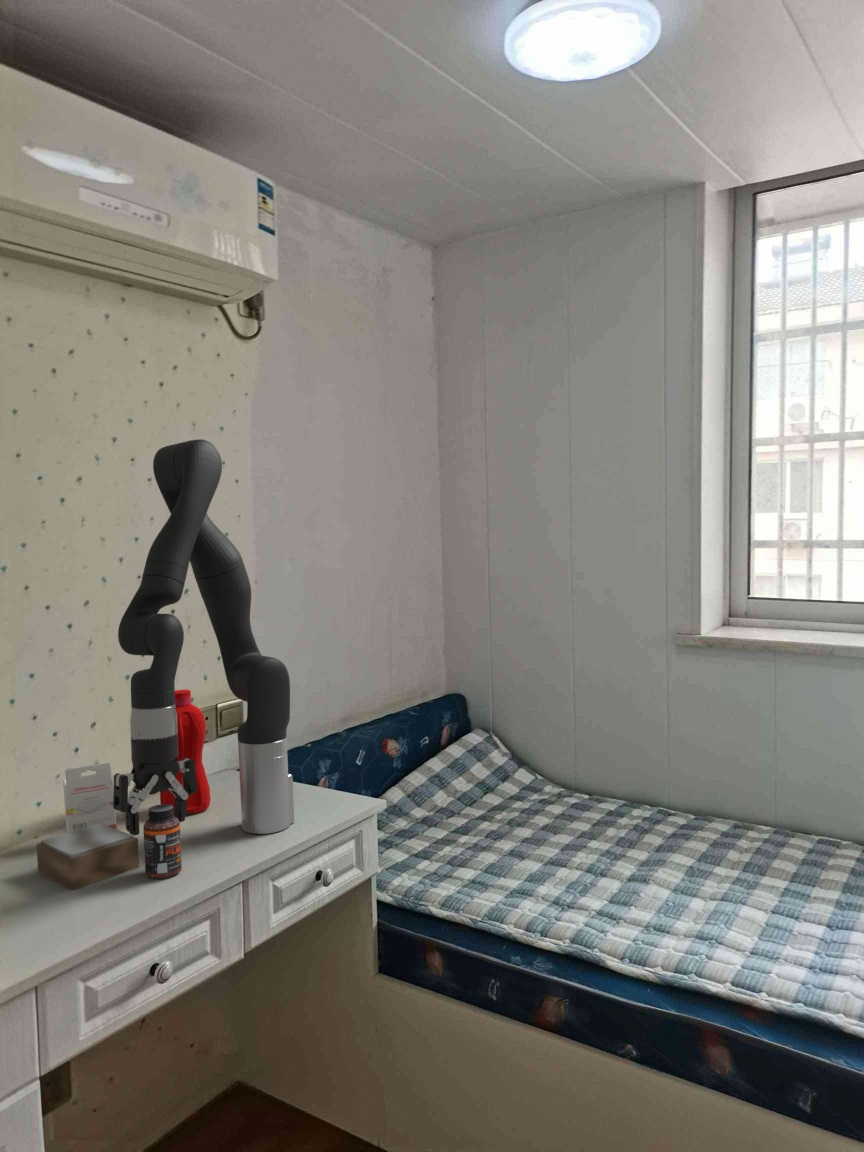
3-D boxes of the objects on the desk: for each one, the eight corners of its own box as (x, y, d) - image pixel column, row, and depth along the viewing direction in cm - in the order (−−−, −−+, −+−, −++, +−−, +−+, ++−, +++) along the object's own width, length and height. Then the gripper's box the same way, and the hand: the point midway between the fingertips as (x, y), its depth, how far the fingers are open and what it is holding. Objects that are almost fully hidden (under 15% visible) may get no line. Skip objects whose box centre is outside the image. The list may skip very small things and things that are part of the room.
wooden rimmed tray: (103, 851, 160) (102, 821, 159) (139, 866, 152) (137, 835, 152) (38, 872, 151) (36, 841, 150) (72, 890, 143) (70, 857, 142)
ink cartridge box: (113, 831, 171) (109, 756, 170) (117, 839, 166) (113, 762, 165) (66, 840, 167) (61, 763, 166) (68, 848, 162) (64, 769, 161)
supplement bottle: (171, 881, 145) (167, 813, 145) (138, 879, 146) (134, 812, 146) (188, 867, 151) (185, 802, 150) (156, 865, 152) (153, 801, 152)
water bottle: (199, 797, 190) (193, 683, 189) (214, 811, 181) (208, 690, 179) (155, 806, 185) (149, 688, 184) (169, 820, 176) (162, 696, 174)
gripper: (179, 722, 155) (182, 812, 156) (103, 736, 145) (106, 833, 145) (203, 727, 150) (206, 821, 151) (126, 743, 140) (129, 843, 140)
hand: (157, 827), depth 148 cm, fingers open, 8 cm apart
